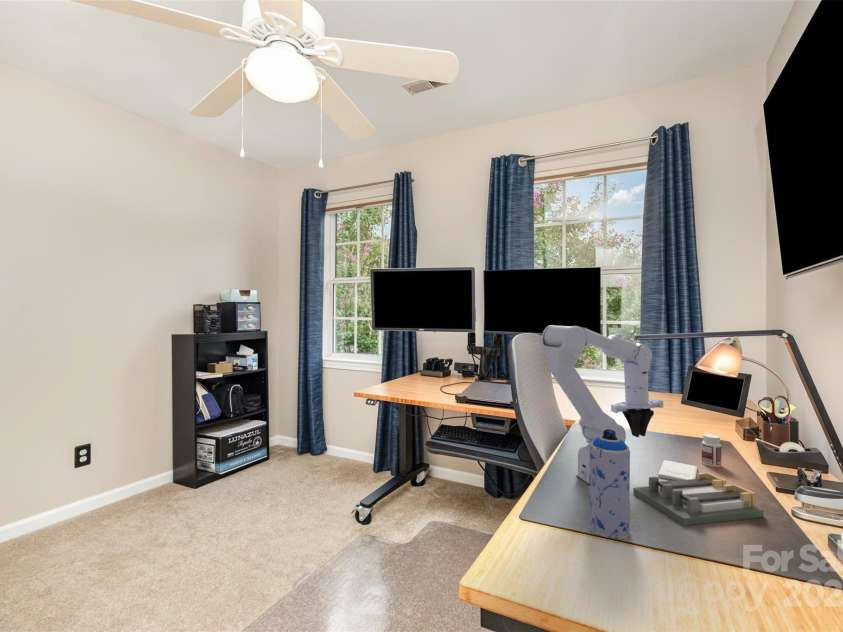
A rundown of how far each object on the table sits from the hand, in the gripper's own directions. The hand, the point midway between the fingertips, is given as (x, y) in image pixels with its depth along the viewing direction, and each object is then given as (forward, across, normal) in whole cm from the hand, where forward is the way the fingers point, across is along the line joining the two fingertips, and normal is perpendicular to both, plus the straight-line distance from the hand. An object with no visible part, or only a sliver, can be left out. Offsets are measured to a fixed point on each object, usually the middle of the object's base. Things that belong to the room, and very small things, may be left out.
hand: (638, 435), depth 113 cm
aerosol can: (+8, -26, -26) cm, 38 cm away
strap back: (+7, 0, -16) cm, 17 cm away
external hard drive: (+12, +10, -2) cm, 15 cm away
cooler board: (+10, -1, -19) cm, 22 cm away
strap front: (+7, +1, -23) cm, 24 cm away
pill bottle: (+12, +24, +2) cm, 27 cm away
